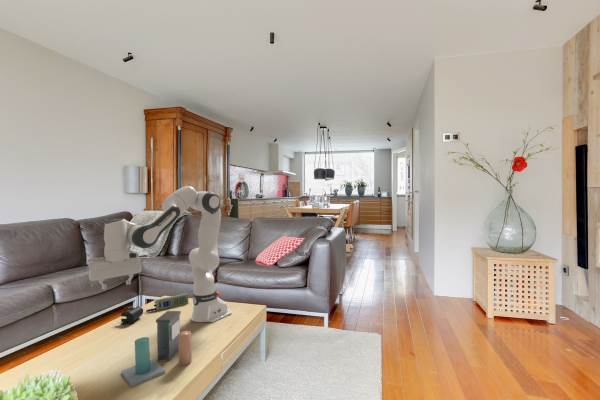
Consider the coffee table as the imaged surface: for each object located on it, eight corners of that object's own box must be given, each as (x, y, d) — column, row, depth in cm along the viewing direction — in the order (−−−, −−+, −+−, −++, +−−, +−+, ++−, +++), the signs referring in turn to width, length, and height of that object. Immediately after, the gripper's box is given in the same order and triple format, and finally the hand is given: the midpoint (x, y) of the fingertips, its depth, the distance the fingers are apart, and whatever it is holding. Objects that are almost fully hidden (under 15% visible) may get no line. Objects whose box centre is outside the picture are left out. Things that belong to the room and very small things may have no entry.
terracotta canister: (188, 357, 132) (187, 329, 131) (193, 362, 128) (193, 333, 128) (176, 362, 128) (176, 333, 128) (181, 366, 124) (181, 337, 124)
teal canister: (146, 365, 124) (144, 336, 123) (152, 369, 121) (151, 339, 121) (133, 371, 120) (132, 341, 119) (139, 375, 117) (138, 344, 116)
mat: (153, 361, 129) (153, 359, 129) (165, 373, 120) (165, 370, 120) (121, 373, 120) (121, 371, 120) (131, 386, 112) (131, 384, 112)
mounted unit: (168, 348, 140) (167, 310, 139) (181, 349, 139) (180, 311, 139) (156, 360, 130) (155, 319, 129) (170, 360, 129) (170, 319, 129)
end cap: (133, 324, 166) (133, 312, 166) (120, 324, 167) (120, 312, 167) (143, 317, 176) (143, 305, 176) (131, 317, 177) (131, 305, 177)
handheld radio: (189, 304, 199) (146, 314, 182) (187, 303, 201) (145, 312, 185) (188, 293, 199) (146, 302, 183) (186, 292, 201) (145, 301, 185)
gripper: (89, 260, 127) (90, 293, 127) (142, 253, 142) (143, 283, 142) (86, 258, 131) (87, 290, 132) (138, 251, 146) (138, 280, 146)
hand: (116, 286), depth 137 cm, fingers open, 8 cm apart
